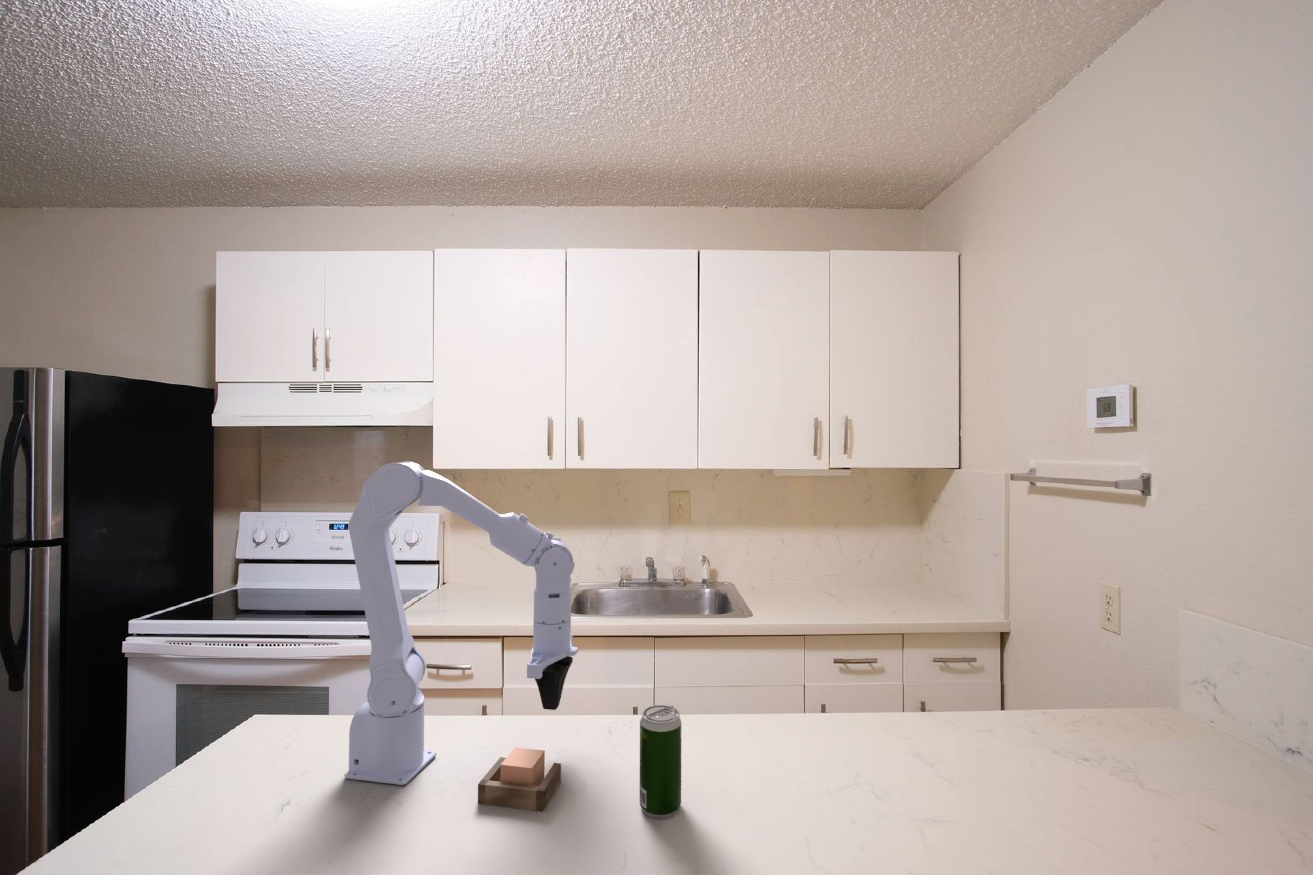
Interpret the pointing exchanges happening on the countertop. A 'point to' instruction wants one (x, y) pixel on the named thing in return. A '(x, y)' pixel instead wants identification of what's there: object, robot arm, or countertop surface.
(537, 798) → the walnut bay
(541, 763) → the terracotta block
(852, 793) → the countertop surface
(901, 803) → the countertop surface
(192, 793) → the countertop surface
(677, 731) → the beer can
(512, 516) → the robot arm
